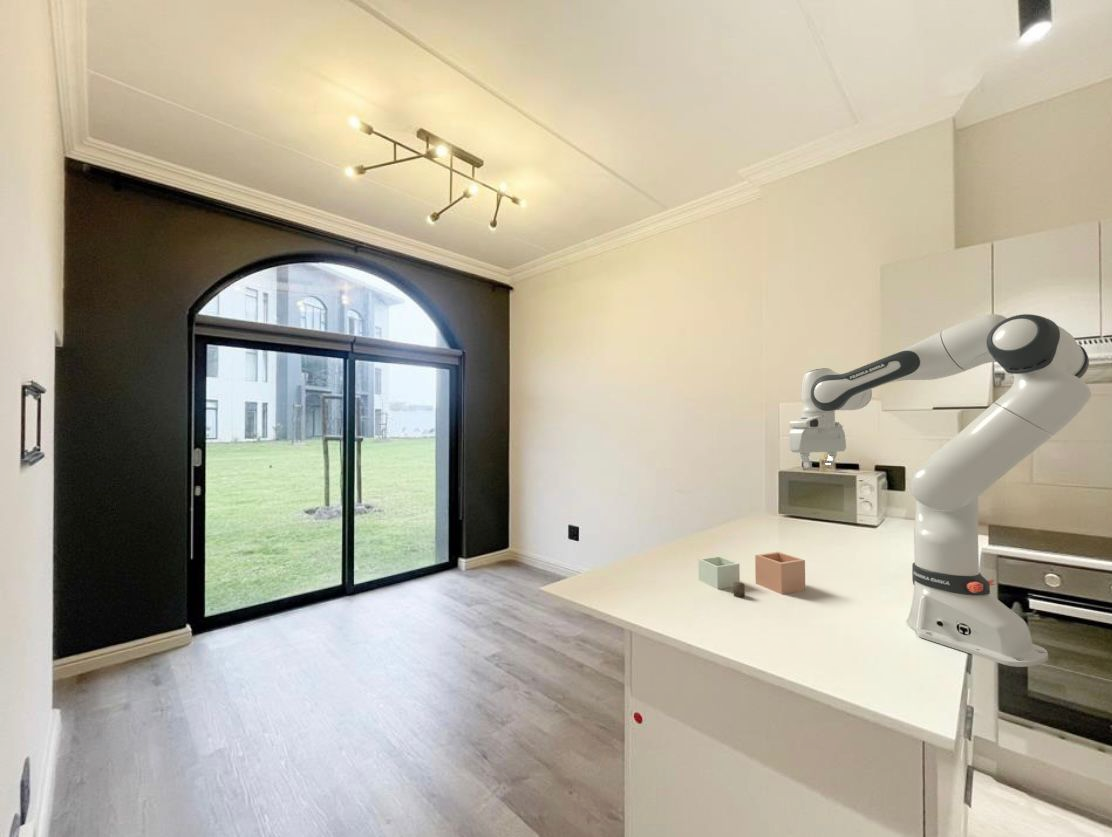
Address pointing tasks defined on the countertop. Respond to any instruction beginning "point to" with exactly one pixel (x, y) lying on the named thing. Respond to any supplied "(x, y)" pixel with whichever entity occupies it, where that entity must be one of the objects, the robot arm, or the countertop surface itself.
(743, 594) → the lid
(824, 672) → the countertop surface
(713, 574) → the tub
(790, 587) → the planter
